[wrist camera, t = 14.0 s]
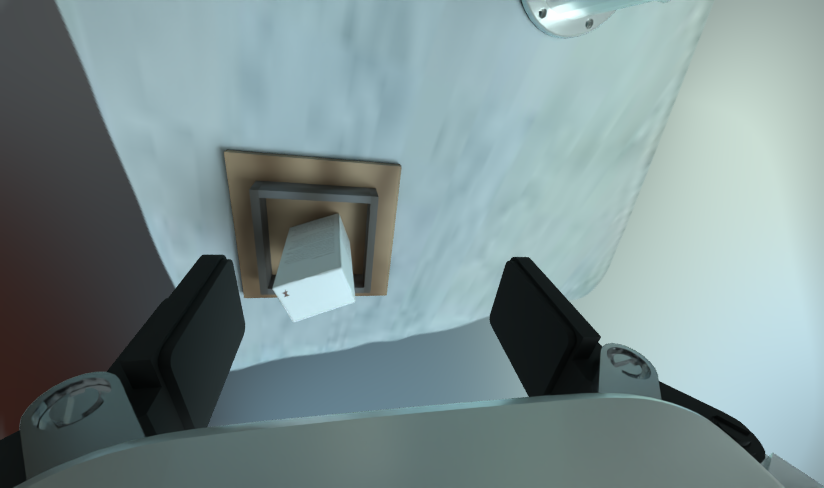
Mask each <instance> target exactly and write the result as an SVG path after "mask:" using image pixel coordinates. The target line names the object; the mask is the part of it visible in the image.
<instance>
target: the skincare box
mask: <svg viewBox="0 0 824 488" xmlns="http://www.w3.org/2000/svg"><path fill="white" fill-rule="evenodd" d="M272 289H273V291H274V293H275V294H276V296H277V297H278V299H279V300H280V302H281V303H282V305H283V307H284V308H285V310H286V311H287V313H288V315H289V316H290V318H291V320H292V321H293V322H297V321H300V320H303V319H306V318H309V317H312V316H315V315H318V314H321V313H324V312H327V311H330V310H333V309H336V308H339V307H342V306H345V305H348V304H351V303H354V302H355V290H354V280H353V271H352V260H351V250H350V241H349V239H348V236H347V233H346V231H345V228H344V225H343V223H342V220H341V217H340V215H339V213H337V214H334V215H330V216H327V217H324V218H320V219H317V220H314V221H310V222H307V223H304V224H300V225H297V226H294V227H291V228H289V232H288V235H287V239H286V242H285V246H284V249H283V253H282V256H281V260H280V263H279V267H278V270H277V274H276V278H275V281H274V284H273V288H272Z"/></svg>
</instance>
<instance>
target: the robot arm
mask: <svg viewBox="0 0 824 488" xmlns="http://www.w3.org/2000/svg"><path fill="white" fill-rule="evenodd" d="M651 1H658V2H662V3H666V2H669V1H670V0H522V3H523V6H524V9H525V11H526V13H527V14H528V16H529V18H530V20H531V21H532V22H533V23H534V24H535V25H536V27H537V28H538V29H540V30H541V31H543V32H544V33H546V34H548V35H550V36H553V37H557V38H571V37H577V36H581V35H584V34H587V33H589V32H591V31H593V30H595V29H596V28H598V27H599V26H601V25H602V24H603V23H604V22H606V21H607V20H608V19H609V18H610V17H611V16H612V15H613V14H614V12H615V11H616V10H617V9H621V8H625V7H630V6H634V5H638V4H643V3H647V2H651ZM539 13H540V15H539ZM490 324H491V326H492V328H493V330H494V332H495V334H496V336H497V337H498V339H499V341H500V343H501V345H502V347H503V349H504V351H505V353H506V355H507V356H508V358H509V360H510V362H511V364H512V366H513V368H514V370H515V372H516V373H517V375H518V377H519V379H520V381H521V383H522V385H523V387H524V389H525V390H526V392H527V394H528V396H529V397H525V398H524V397H523V398H512V399H499V400H489V401H488V400H487V401H476V402H464V403H453V404H441V405H431V406H419V407H408V408H397V409H386V410H376V411H364V412H353V413H343V414H332V415H322V416H311V417H301V418H291V419H280V420H270V421H260V422H251V423H242V424H233V425H225V426H215V427H207V426H208V424H209V421H210V418H211V416H212V413H213V411H214V408H215V406H216V403H217V401H218V398H219V396H220V393H221V391H222V388H223V386H224V383H225V380H226V378H227V376H228V373H229V371H230V368H231V366H232V363H233V361H234V358H235V356H236V353H237V351H238V348H239V346H240V343H241V341H242V338H243V335H244V332H245V321H244V316H243V311H242V306H241V301H240V296H239V291H238V286H237V281H236V276H235V271H234V266H233V262H232V260H230V259H226V257H225V256H224V255H202V256H201V257H200V258H199V259H198V260H197V262H196V263H195V264H194V266H193V267H192V268H191V269H190V271H189V272H188V273H187V275H186V276H185V277H184V278H183V280H182V281H181V282H180V284H179V285H178V286H177V287H176V289H175V290H174V291H173V292H172V294H171V295H170V296H169V298H167V299H165V300H164V301H163V302H162V303H161V304H160V305H159V307H158V308H157V309H156V310H155V311H154V313H153V314H152V315H151V317H150V318H149V319H148V320H147V322H146V323H145V324H144V325H143V327H142V328H141V329H140V330H139V332H138V333H137V334H136V335H135V337H134V338H133V339H132V341H131V342H130V343H129V344H128V346H127V347H126V348H125V349H124V351H123V352H122V353H121V354H120V356H119V357H118V358H117V359H116V361H115V362H114V363H113V364H112V366H111V367H110V368H109V370H108V371H107V372H93V373H87V374H82V375H79V376H77V377H74V378H71V379H68V380H66V381H64V382H62V383H60V384H58V385H56V386H54V387H52V388H51V389H50V390H48V391H47V392H45V393H44V394H42V395H41V396H39V397H38V398H37V399H36V400H35V401H34V402H33V403H32V404H31V405H30V406H29V407H28V408H27V410H26V411H25V413H24V414H23V416H22V417H21V421H20V427H19V428H20V430H19V431H17V432H15V433H13V434H11V435H10V436H8V437H6V438H4V439H2V440H0V488H824V486H823V485H821V484H820V483H818V482H817V481H815V480H814V479H812V478H811V477H809V476H808V475H806V474H805V473H803V472H802V471H800V470H799V469H797V468H796V467H794V466H792V465H791V464H789V463H788V462H786V461H785V460H783V459H782V458H780V457H779V456H777V455H776V454H774V453H772V454H771V455H769V456H767V455H766V454H765V451H764V448H763V446H762V445H761V443H760V442H759V440H758V439H757V438H756V437H755V435H754V434H753V433H752V432H750V431H749V429H748V428H746V426H745V425H743V424H742V423H741V422H740V421H738V420H737V419H735V418H733V417H731V416H729V415H728V414H725V413H724V412H722V411H720V410H718V409H716V408H713V407H712V406H709V405H707V404H705V403H703V402H701V401H699V400H697V399H695V398H693V397H691V396H689V395H687V394H685V393H683V392H680V391H678V390H676V389H674V388H672V387H670V386H668V385H666V384H664V383H662V382H660V381H659V380H658V374H657V372H656V370H655V368H654V366H653V365H652V364H651V362H650V361H648V360H647V359H646V358H645V357H644V356H643V355H641V354H640V353H638V352H637V351H635V350H633V349H631V348H629V347H627V346H624V345H621V344H615V343H610V344H605V345H604V346H603V347H602V346H601V345H600V344H599V343H598V341H599V340H600V338H601V336H600V335H599V334H598V333H597V332H596V331H595V330H594V329H593V327H592V326H591V325H590V324H589V323H588V322H587V321H586V320H585V319H584V317H583V316H582V315H581V314H580V313H579V312H578V311H577V310H576V309H575V307H574V306H573V305H572V304H571V303H570V302H569V301H568V300H567V299H566V298H565V296H564V295H563V294H562V293H561V292H560V291H559V290H558V289H557V288H556V286H555V285H554V284H553V283H552V282H551V281H550V280H549V279H548V278H547V277H546V275H545V274H544V273H543V272H542V271H541V270H540V269H539V268H538V267H537V266H536V264H535V263H534V262H533V261H532V260H531V259H530V258H529V257H513V258H511V260H510V261H507V263H506V265H505V268H504V271H503V274H502V278H501V281H500V284H499V287H498V291H497V294H496V297H495V300H494V304H493V307H492V310H491V313H490Z"/></svg>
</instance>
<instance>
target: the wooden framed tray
mask: <svg viewBox="0 0 824 488" xmlns="http://www.w3.org/2000/svg"><path fill="white" fill-rule="evenodd" d="M224 157H225V164H226V171H227V178H228V185H229V192H230V200H231V207H232V214H233V221H234V228H235V235H236V243H237V250H238V257H239V264H240V271H241V278H242V286H243V293H244V298H273V297H277V296H276V294H275V293H274V291H273V289H272V288H273V284H274V281H275V278H276V274H277V270H278V267H279V263H280V260H281V256H282V253H283V249H284V246H285V242H286V239H287V235H288V232H289V228H291V227H294V226H297V225H300V224H304V223H307V222H310V221H314V220H317V219H320V218H324V217H327V216H330V215H334V214H337V213H339V215H340V217H341V220H342V223H343V225H344V228H345V231H346V233H347V236H348V239H349V241H350V250H351V260H352V271H353V280H354V290H355V296H378V295H387V287H388V279H389V270H390V262H391V253H392V244H393V236H394V227H395V219H396V210H397V201H398V193H399V184H400V176H401V165H400V164H389V163H377V162H366V161H354V160H342V159H330V158H318V157H306V156H294V155H282V154H270V153H259V152H247V151H235V150H226V151H225V152H224Z"/></svg>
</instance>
